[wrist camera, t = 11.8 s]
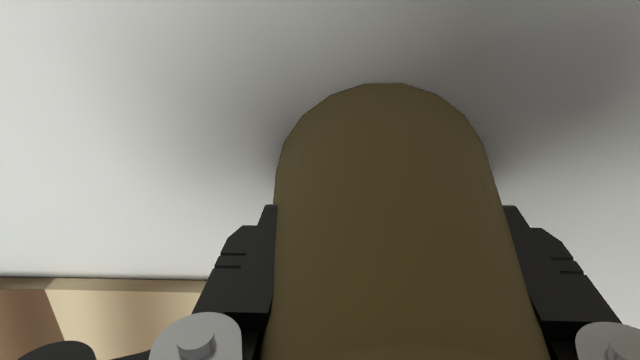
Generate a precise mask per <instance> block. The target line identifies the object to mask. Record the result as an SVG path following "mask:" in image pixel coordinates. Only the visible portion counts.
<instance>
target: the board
mask: <svg viewBox="0 0 640 360" xmlns="http://www.w3.org/2000/svg"><path fill="white" fill-rule="evenodd" d="M206 282H207V281H188V280H135V279H81V278H27V277H0V360H17V359H19V358H20V357H22V356H23V355H25V354H27V353H28V352H30V351H32V350H35V349H37V348H39V347H42V346H44V345H47V344H51V343H54V342H60V341H79V342H83V343H85V344H87V345H88V346H90V347H91V348H92V350H93V352H94V353H95V356H96V359H97V360H111V359H115V358H119V357H124V356H128V355H132V354H137V353H140V352H144V351H147V350H150V349H151V348H152V345H153V343H154V341H155V339H156V338H157V337H158V335H159V334H160V333H161V332H162V331H163V330H164V329H165V328H166V327H168V326H169V325H170V324H172V323H173V322H175V321H177V320H179V319H181V318H183V317H185V316H188V315H191V313H192V311H193V309H194V307H195V305H196V303H197V301H198V299H199V297H200V295H201V293H202V290H203V288H204V286H205V284H206Z"/></svg>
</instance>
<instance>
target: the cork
mask: <svg viewBox="0 0 640 360" xmlns="http://www.w3.org/2000/svg"><path fill="white" fill-rule="evenodd" d="M273 205H278V213H277V228H276V244H275V265H274V293H273V298H272V303H271V309H270V315H269V321H268V324H267V327H266V330H265V333H264V336H263V339H262V342H261V346H260V353H259V359H258V360H551V359H550V356H549V352H548V349H547V346H546V343H545V340H544V337H543V333H542V330H541V327H540V325H539V322H538V320H537V317H536V314H535V311H534V309H533V306H532V303H531V301H530V298H529V295H528V293H527V289H526V285H525V282H524V278H523V275H522V271H521V268H520V264H519V261H518V257H517V254H516V250H515V247H514V243H513V240H512V236H511V232H510V229H509V226H508V223H507V219H506V216H505V213H504V210H503V207H502V204H501V200H500V197H499V194H498V191H497V188H496V185H495V181H494V178H493V175H492V172H491V169H490V166H489V162H488V159H487V156H486V153H485V150H484V147H483V143H482V141H481V140H480V138H479V137H478V135H477V134H476V132H475V131H474V129H473V128H472V126H471V125H470V123H469V122H468V120H467V118H466V117H465V115H463V114H462V113H461V112H459V111H458V110H457V109H455V108H454V107H453V106H451V105H450V104H449V103H447V102H446V101H445V100H443V99H442V98H441V97H439V96H438V95H436V94H433V93H430V92H427V91H424V90H421V89H417V88H414V87H411V86H408V85H405V84H363V85H360V86H357V87H354V88H351V89H348V90H345V91H342V92H339V93H336V94H333V95H330V96H329V97H328V98H326V99H325V100H323V101H322V102H321V103H319V104H318V105H317V106H315V107H314V108H312V109H311V110H310V111H308V112H307V113H306V114H304V115H303V116H302V117H301V119H300V120H299V122H298V123H297V125H296V126H295V127H294V129H293V130H292V132H291V133H290V135H289V136H288V137H287V139H286V140H285V142H284V144H283V148H282V152H281V155H280V159H279V163H278V166H277V170H276V178H275V188H274V199H273Z"/></svg>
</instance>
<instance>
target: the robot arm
mask: <svg viewBox="0 0 640 360" xmlns="http://www.w3.org/2000/svg"><path fill="white" fill-rule="evenodd" d="M502 207H503V210H504V213H505V216H506V219H507V223H508V226H509V229H510V232H511V236H512V240H513V243H514V247H515V250H516V254H517V257H518V261H519V264H520V268H521V271H522V275H523V278H524V282H525V285H526V289H527V293H528V295H529V298H530V301H531V303H532V306H533V309H534V311H535V314H536V317H537V320H538V322H539V325H540V327H541V330H542V333H543V337H544V340H545V343H546V346H547V349H548V352H549V356H550V359H551V360H640V329H637V328H634V327H631V326H628V325H624V324H622V322H621V321H620V320H619V318H618V317H617V316H616V314H615V313H614V312H613V310H612V309H611V308H610V306H609V305H608V304H607V302H606V301H605V300H604V298H603V297H602V296H601V294H600V293H599V292H598V290H597V289H596V288H595V286H594V285H593V284H592V282H591V281H590V279H589V278H588V277H587V275H584V273H583V272H584V271H583V270H582V269H581V267H580V266H579V265H578V263H577V262H576V261H573V257H572V255H571V254H570V253H569V251H568V250H567V249H566V247H565V246H564V245H563V243H562V242H561V241H560V240H558V239H557V238H555V237H554V236H552V235H551V234H549V233H548V232H546V231H545V230H543V229H542V228H530V227H529V225H528V224H527V222H526V221H525V219H524V218H523V216H522V215H521V213H520V212H519V210H518V209H517V207H516V206H513V205H502ZM277 213H278V205H265V207H264V209H263V212H262V215H261V217H260V220H259V222H258V225H257V226H244V225H243V226H241V227H240V228H239V229H238V230H237V231H236V232H234V233H233V234H232V235H231V236H230V237H228V238H227V241H226V243H225V245H224V247H223V249H222V251H221V255H220V256H219V257H218V259H217V261H216V263H215V268H214V269H213V270H212V272H211V274H210V276H209V278H208V280H207V282H206V284H205V286H204V288H203V290H202V293H201V295H200V297H199V299H198V301H197V303H196V305H195V307H194V309H193V311H192V313H191V315H188V316H185V317H183V318H181V319H179V320H177V321H175V322H173V323H172V324H170V325H169V326H168V327H166V328H165V329H164V330H163V331H162V332H161V333H160V334H159V335H158V337H157V338H156V339H155V341H154V343H153V345H152V348H151V349H150V350H147V351H144V352H140V353H137V354H132V355H128V356H124V357H119V358H115V359H111V360H258V359H259V353H260V346H261V342H262V339H263V336H264V333H265V330H266V327H267V324H268V321H269V315H270V309H271V303H272V298H273V293H274V265H275V244H276V228H277ZM17 360H97V359H96V356H95V353H94V352H93V350H92V348H91V347H90V346H88V345H87V344H85V343H83V342H79V341H60V342H54V343H51V344H47V345H44V346H42V347H39V348H37V349H35V350H32V351H30V352H28V353H27V354H25V355H23V356H22V357H20V358H19V359H17Z"/></svg>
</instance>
